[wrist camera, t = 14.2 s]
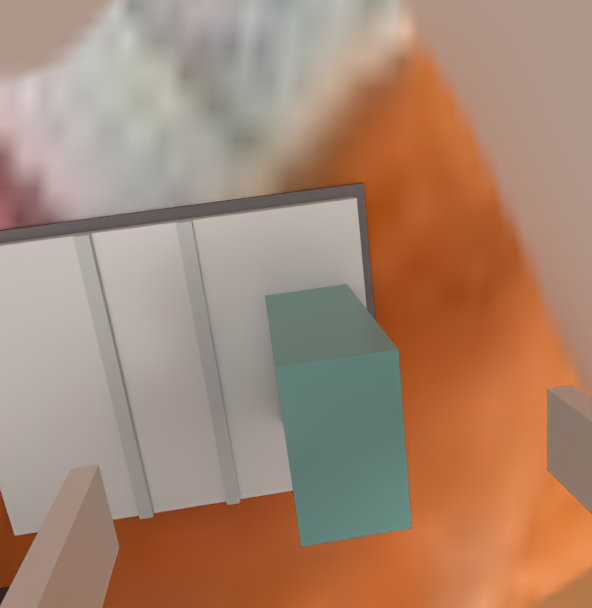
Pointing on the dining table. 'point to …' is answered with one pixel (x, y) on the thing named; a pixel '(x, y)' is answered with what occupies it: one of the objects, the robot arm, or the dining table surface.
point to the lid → (203, 370)
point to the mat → (212, 209)
